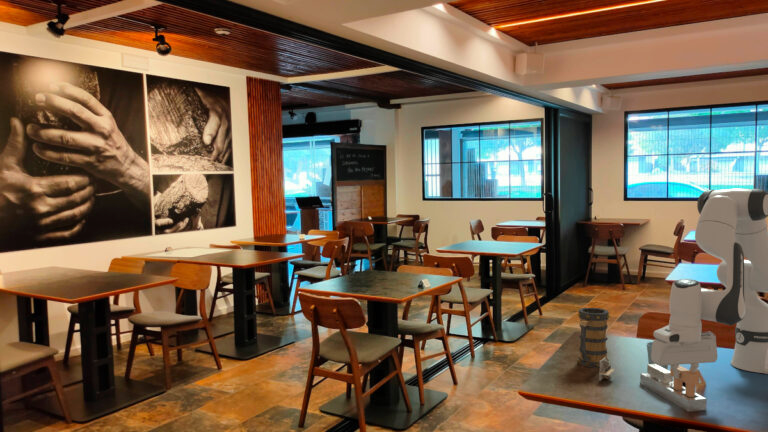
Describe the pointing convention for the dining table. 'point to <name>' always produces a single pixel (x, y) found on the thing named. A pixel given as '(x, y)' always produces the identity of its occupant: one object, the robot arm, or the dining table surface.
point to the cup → (649, 348)
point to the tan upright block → (686, 381)
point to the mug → (593, 336)
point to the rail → (670, 388)
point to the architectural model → (605, 369)
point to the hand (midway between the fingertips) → (684, 377)
